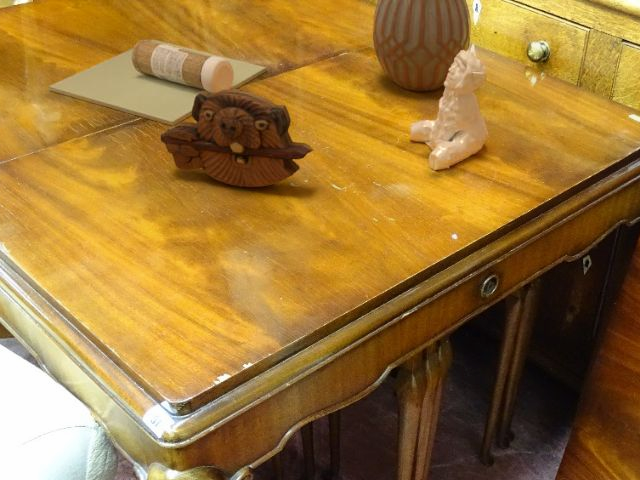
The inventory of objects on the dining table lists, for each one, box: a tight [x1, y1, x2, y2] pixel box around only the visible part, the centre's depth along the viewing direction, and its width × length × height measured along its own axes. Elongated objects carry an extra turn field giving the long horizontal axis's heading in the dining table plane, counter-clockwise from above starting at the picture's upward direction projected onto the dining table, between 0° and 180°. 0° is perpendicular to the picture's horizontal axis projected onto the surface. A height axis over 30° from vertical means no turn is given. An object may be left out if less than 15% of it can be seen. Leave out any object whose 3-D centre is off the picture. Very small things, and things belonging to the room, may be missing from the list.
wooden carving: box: [160, 88, 314, 188], centre depth 82 cm, size 16×5×10 cm, turn 82°
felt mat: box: [48, 39, 268, 127], centre depth 104 cm, size 20×20×1 cm
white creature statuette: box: [409, 49, 490, 171], centre depth 89 cm, size 10×9×12 cm
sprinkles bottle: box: [132, 38, 234, 93], centre depth 101 cm, size 5×5×13 cm
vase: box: [372, 0, 472, 92], centre depth 102 cm, size 13×13×18 cm
